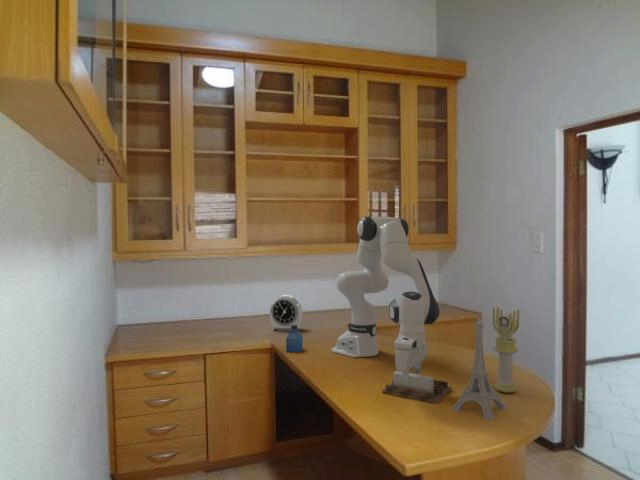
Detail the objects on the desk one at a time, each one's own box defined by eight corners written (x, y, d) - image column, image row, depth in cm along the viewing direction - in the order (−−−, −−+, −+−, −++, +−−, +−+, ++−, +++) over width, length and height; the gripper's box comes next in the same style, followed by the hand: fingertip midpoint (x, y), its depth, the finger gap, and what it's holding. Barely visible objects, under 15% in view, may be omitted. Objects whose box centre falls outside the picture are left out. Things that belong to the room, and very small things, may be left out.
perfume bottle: (302, 348, 225) (302, 324, 225) (298, 352, 219) (298, 327, 219) (290, 348, 227) (290, 323, 226) (286, 351, 221) (285, 326, 220)
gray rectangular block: (393, 389, 165) (392, 373, 165) (396, 387, 168) (396, 370, 168) (430, 397, 158) (430, 380, 158) (433, 394, 160) (433, 377, 160)
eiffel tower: (507, 408, 151) (507, 317, 150) (491, 421, 141) (491, 324, 140) (468, 398, 160) (468, 312, 159) (450, 410, 150) (450, 318, 149)
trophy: (489, 390, 166) (490, 308, 165) (499, 385, 171) (499, 305, 170) (512, 396, 160) (512, 311, 159) (521, 391, 165) (521, 308, 164)
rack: (382, 392, 165) (382, 384, 165) (400, 380, 178) (400, 372, 178) (436, 404, 154) (436, 395, 154) (451, 389, 167) (451, 381, 167)
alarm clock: (269, 331, 263) (268, 296, 263) (274, 327, 272) (273, 293, 271) (299, 332, 259) (298, 296, 258) (303, 329, 267) (302, 294, 267)
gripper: (414, 331, 173) (414, 367, 173) (391, 343, 156) (391, 383, 156) (430, 333, 169) (430, 370, 170) (409, 346, 152) (409, 387, 153)
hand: (412, 376), depth 163 cm, fingers open, 8 cm apart
